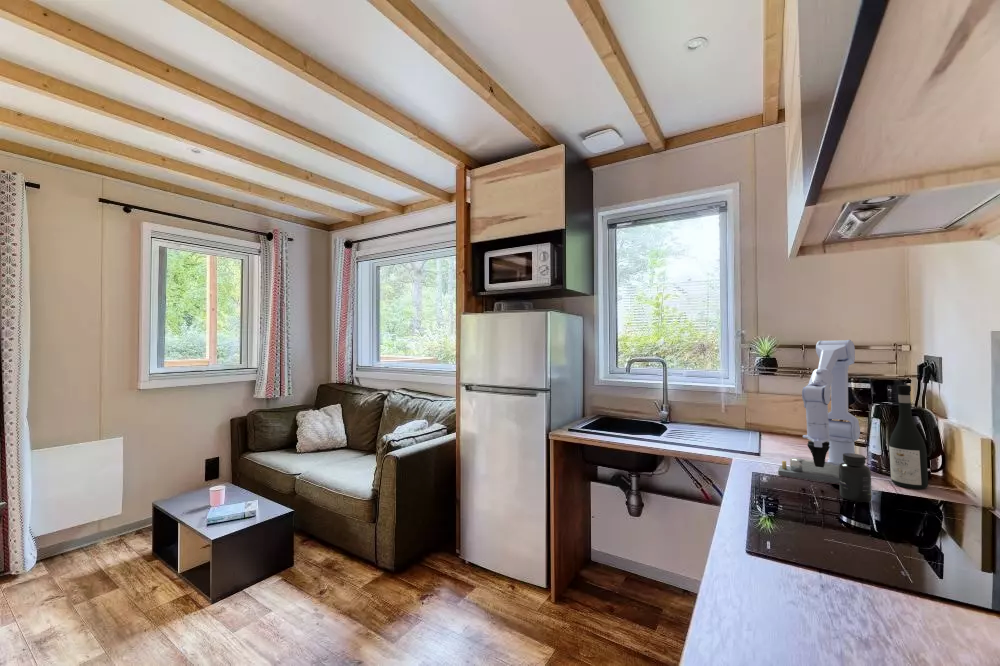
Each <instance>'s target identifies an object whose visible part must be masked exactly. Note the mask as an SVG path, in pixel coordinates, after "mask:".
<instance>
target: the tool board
mask: <svg viewBox="0 0 1000 666" xmlns="http://www.w3.org/2000/svg"><path fill="white" fill-rule="evenodd" d="M781 464H782V465H780V466H779V467H778V471H777V474H778V475H777V476H781V475H783V476H782V477H790V478H797V479H802V480H804V479H805V480H811V481H820V482H824V483H825V482H826V483H832V484H833V483H834V484H839V478H838V477H833V476H828V475H820V474H812V473H805V472H795V471H791V470H790V466H787V461H786V460H781Z"/></svg>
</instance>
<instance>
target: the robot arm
mask: <svg viewBox="0 0 1000 666" xmlns="http://www.w3.org/2000/svg"><path fill="white" fill-rule="evenodd" d="M815 352H816V355H817V357H818V359H819V362H818V366H817V368H816V369H814V370H813V371H812V374H810V379H809V381H808V384H807V385H805V386H803V387H802V391H801V399H802V401H803V407H804V409H805V418H806V434H803V435H802V438H803V439H807V440H808V441H807V442H808V443H807V447H808V449H809V451H810V453H811V455H812V460H814V464H815V466H816V467H822V468H824V464H825V462H826V457H827V454H828V458H827V462H839V463H844V461H843V454H844V453H853V454H856V451H855V450H856V449H855V448H856V447H855V442H856V441H858V440H859V439H860V435H861V427H860V422H859V419H858V418H857V417H856V416H854V415H853V414H851V413H850V412H849V367H850V366H851V365H854V364H855V360H856V356H855V354H856V347H855V344H854V341H852V340H851V339H846V340H845V339H844V340H843V339H841V340H838V339H837V340H822V339H821V340H818V341H817V342H816V345H815ZM829 404H830V407H831V408H830V411H829Z"/></svg>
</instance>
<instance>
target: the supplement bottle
mask: <svg viewBox="0 0 1000 666" xmlns="http://www.w3.org/2000/svg"><path fill="white" fill-rule="evenodd" d="M843 461H844V463H841V464H840V465H839V483H838V484H839V495H840V497H841V498H842V499H844V500H847V501H850V502H854V501H855V503H862V502H866V503H870V502H872V498H873V497H872V495H873V494H872V493H873V492H872V473H871V469H870V467H869V466H867V465H866V463H867V461H866V456H865V455H863V454H859V453H855V454H853V453H844V454H843Z"/></svg>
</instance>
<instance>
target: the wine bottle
mask: <svg viewBox="0 0 1000 666" xmlns="http://www.w3.org/2000/svg"><path fill="white" fill-rule="evenodd" d="M911 390H912V387H911V385H908V384H898V385H896V391H897V394H898V395H897V396H898V399H897V400H898V411H899V412H898V414H899V415H898V419H897V422H896V424H895V427H894V430H893V431H892V433H891V435H890V439H889V446H888V448H889V450H888V451H889V464H890V468H889V469H890V479H891V482H892V483H893V484H894V485H896V486H898V487H902V488H907V489H911V488H912V489H913V490H924V489H927V488H928V487H929V475H928V474H929V473H928V470H929V469H928V459H927V458H928V454H927V447H926V443H925V440H924V439H923V436H922V434H921V433H920V431H919V429H918V428H917V425H916V423H915V422H914V419H913V416H912V415H913V414H912V402H911V401H912V399H911V398H912V397H911Z"/></svg>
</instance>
